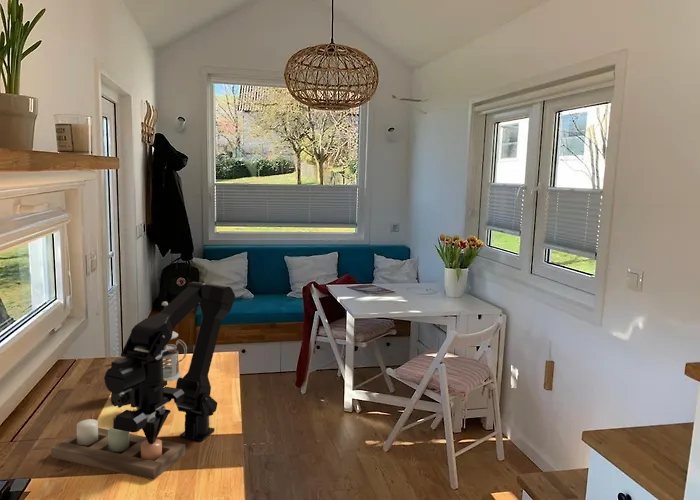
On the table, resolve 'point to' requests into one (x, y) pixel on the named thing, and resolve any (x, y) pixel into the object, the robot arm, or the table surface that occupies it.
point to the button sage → (118, 440)
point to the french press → (172, 358)
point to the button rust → (151, 450)
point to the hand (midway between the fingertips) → (151, 443)
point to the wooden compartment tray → (119, 455)
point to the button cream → (87, 432)
